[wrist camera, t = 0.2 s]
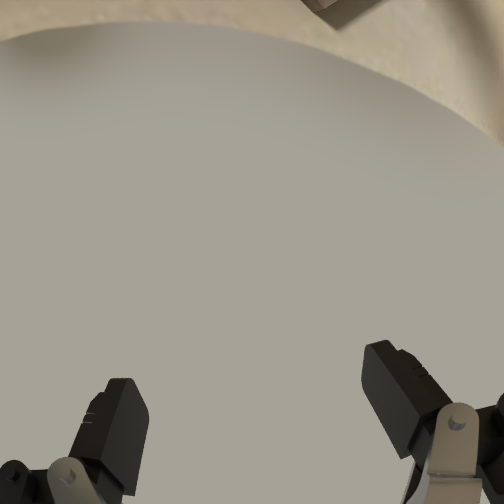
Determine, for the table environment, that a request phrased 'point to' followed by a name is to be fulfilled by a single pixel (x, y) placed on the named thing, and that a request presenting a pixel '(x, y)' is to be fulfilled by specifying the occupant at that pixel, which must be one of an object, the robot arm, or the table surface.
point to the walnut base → (317, 4)
